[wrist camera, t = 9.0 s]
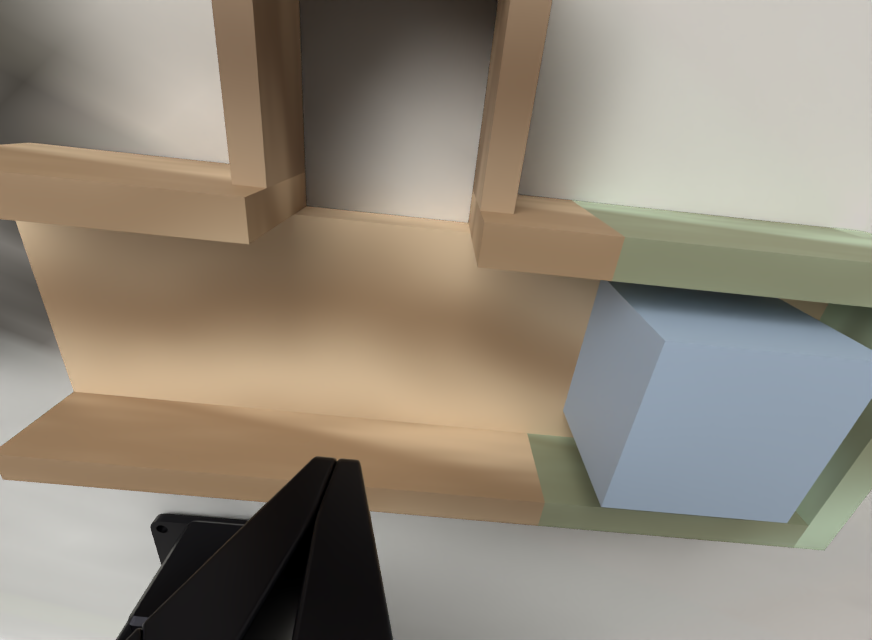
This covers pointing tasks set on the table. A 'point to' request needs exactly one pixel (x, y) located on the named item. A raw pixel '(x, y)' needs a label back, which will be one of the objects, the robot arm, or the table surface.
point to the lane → (373, 313)
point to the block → (710, 401)
